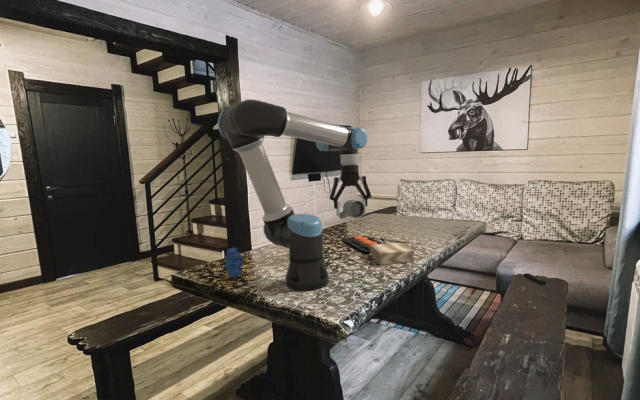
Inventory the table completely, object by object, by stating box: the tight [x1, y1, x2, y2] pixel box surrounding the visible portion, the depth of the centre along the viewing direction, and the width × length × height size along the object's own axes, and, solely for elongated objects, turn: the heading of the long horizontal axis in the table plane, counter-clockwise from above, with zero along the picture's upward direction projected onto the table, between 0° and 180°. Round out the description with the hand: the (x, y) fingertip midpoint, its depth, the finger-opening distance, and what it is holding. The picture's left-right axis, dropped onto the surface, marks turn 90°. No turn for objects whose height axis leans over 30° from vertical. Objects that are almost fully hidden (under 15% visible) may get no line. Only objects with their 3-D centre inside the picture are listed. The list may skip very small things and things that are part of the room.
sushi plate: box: [342, 235, 409, 253], centre depth 164 cm, size 29×30×4 cm
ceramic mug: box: [338, 199, 366, 219], centre depth 144 cm, size 11×8×8 cm
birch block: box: [369, 242, 415, 266], centre depth 140 cm, size 14×14×5 cm
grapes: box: [224, 246, 245, 279], centre depth 123 cm, size 12×7×12 cm, turn 41°
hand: (351, 215), depth 145 cm, fingers closed on ceramic mug, 11 cm apart
